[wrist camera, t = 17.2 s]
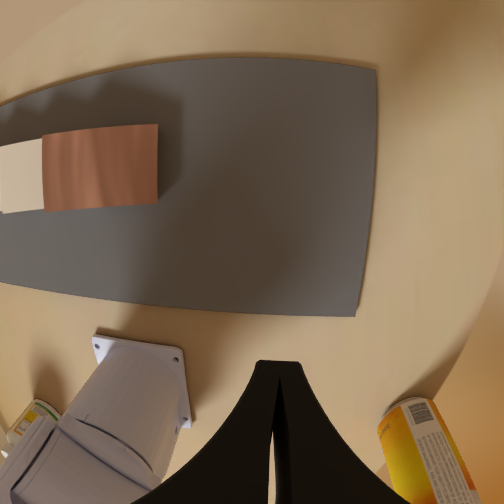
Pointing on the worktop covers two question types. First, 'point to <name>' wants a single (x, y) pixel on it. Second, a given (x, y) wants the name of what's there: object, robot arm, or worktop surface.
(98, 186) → the terracotta domino
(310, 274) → the charcoal mat
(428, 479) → the beer can
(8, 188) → the ivory domino
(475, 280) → the worktop surface
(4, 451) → the supplement bottle
